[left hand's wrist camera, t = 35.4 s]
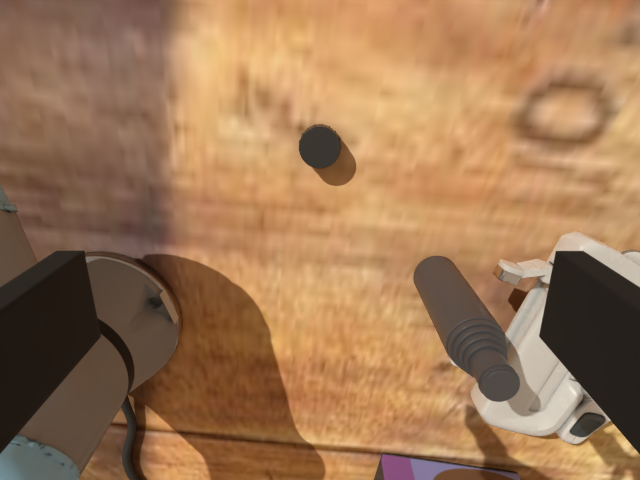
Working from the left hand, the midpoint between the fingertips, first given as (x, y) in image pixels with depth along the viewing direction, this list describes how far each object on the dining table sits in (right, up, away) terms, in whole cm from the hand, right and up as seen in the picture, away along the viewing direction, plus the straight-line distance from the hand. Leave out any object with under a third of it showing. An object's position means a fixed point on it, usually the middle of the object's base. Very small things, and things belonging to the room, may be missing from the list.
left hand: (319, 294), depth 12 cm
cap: (0, +10, +27) cm, 29 cm away
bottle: (+12, -2, +33) cm, 36 cm away
